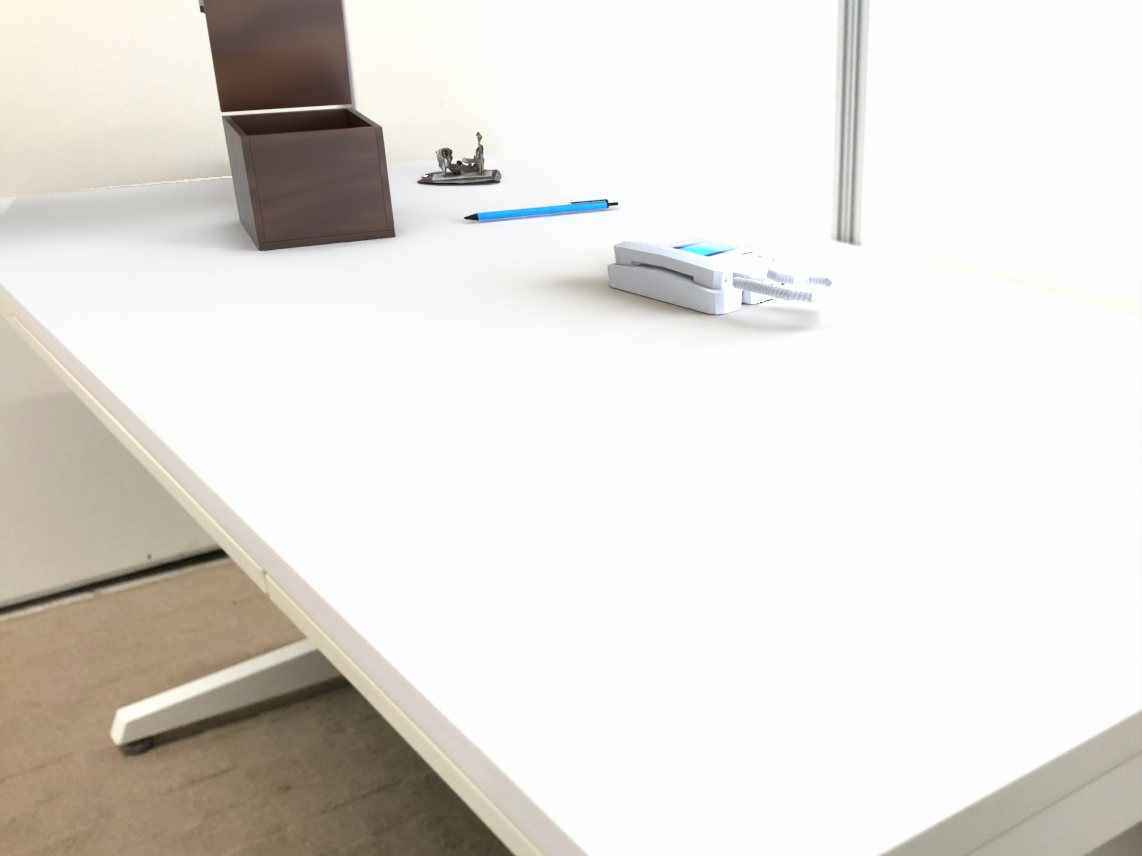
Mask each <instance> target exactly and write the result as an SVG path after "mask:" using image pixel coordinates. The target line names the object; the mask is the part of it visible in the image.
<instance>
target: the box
mask: <svg viewBox="0 0 1142 856" xmlns="http://www.w3.org/2000/svg"><path fill="white" fill-rule="evenodd" d="M221 120H222V127H223V133H224V137H225V144H226V150H227V155H228V161H229V166H230V172H231V179H232V184H233V190H234V196H235V201H236V208H237V213H238V219H239V222H240V223H241V225H242V226H243V228H244V229H245V231H246V232H247V233H248V235H249V237H250V238H251V240H252V241H253V243H254V245H255V246H256V247H257V249H258V251H270V250H280V249H288V248H298V247H299V248H300V247H309V246H317V245H319V246H320V245H327V244H338V243H346V242H357V241H366V240H376V239H386V238H395V237H396V229H395V221H394V213H393V211H394V210H393V204H392V195H391V188H390V180H389V170H388V163H387V156H386V155H387V154H386V147H385V139H384V130H383V126H381V125H380V124H379V123H377V122H375V121H374V120H372V119H370V118H369V117H368V116H366V115H365V114H362V112H360V111H358V110H356V109H355V108H353V107H352V106H351V107H337V108H336V107H335V108H322V109H306V110H304V109H303V110H292V111H291V110H289V111H276V112H275V111H274V112H260V113H259V112H258V113H245V114H244V113H243V114H229V115H221Z"/></svg>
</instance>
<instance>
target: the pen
mask: <svg viewBox="0 0 1142 856" xmlns="http://www.w3.org/2000/svg"><path fill="white" fill-rule="evenodd" d="M614 206H619V202H618V201H615V202H613V201H612V202H609V200H608V199H607V198H605V199H604V198H601V199H591V200H581V201H571V202H569V204H568V203H567V204H559V205H549V206H548V205H547V206H537V207H527V208H517V209H505V210H494V211H484V212H476V213H472V214H470V215H466V216H463V217H462V219H463V220H469V221H476V222H479V221H480V222H481V221H490V220H501V219H511V218H518V217H519V218H521V217H531V216H541V215H551V214H552V215H553V214H562V213H573V212H574V213H575V212H583V211H584V212H585V211H593V210H594V211H596V210H604V209H606V210H607V209H610V207H614Z"/></svg>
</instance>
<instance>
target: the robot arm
mask: <svg viewBox="0 0 1142 856" xmlns="http://www.w3.org/2000/svg"><path fill="white" fill-rule="evenodd" d="M198 6H199V13H203V14H204V15H205V10H204V4H203V0H198Z"/></svg>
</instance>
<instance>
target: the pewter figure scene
mask: <svg viewBox="0 0 1142 856" xmlns="http://www.w3.org/2000/svg"><path fill="white" fill-rule="evenodd" d="M475 136H476V139H477V142H478V143H477V147H476V149H475V152H474V153H475V154H473V158H471V157H462V159H461V160H460V159H458V160H456V162H455V163H452V162H453V159H454V157H453V149H452V148H449V147H442V148H439V149H438V150H436V151H435V154H436V160H437V162H438V165H437V166H438V168H440V170H438V171H433V172H428V173H424V174H425V175H428V176H427V177H421V179H418V180H417V183H440V184H441V183H442V184H443V183H447V184H448V183H452V184H454V183H456V184H467V183H468V184H469V183H478V182H479V183H481V182H487V181H496V182H501V179H502V174H501V171H500V170H499V169H486V168H485V158H484V146H483V145H484V144H481V141H482V139H483V135H482V134H481V133H480V132H479V131H477V132H476V134H475ZM466 164H467V165H466ZM447 169H448V170H449V171H448V170H447Z"/></svg>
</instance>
